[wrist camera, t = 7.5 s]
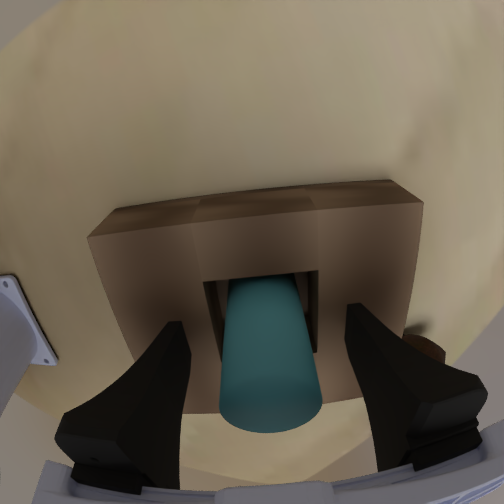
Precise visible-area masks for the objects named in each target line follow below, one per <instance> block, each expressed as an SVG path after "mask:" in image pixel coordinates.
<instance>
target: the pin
mask: <svg viewBox="0 0 504 504" xmlns="http://www.w3.org/2000/svg"><path fill="white" fill-rule="evenodd" d="M322 403H323V398H322V393H321V388H320V384H319V379H318V375H317V370H316V365H315V361H314V356H313V352H312V348H311V343H310V339H309V334H308V330H307V326H306V321H305V317H304V313H303V309H302V304H301V300H300V296H299V292H298V288H297V284H296V280H295V275H294V273H285V274H276V275H266V276H256V277H246V278H236V279H229V284H228V295H227V307H226V319H225V331H224V343H223V356H222V369H221V382H220V396H219V411H220V413H221V415H222V416H223V418H224V419H225V420H226V421H227V422H229V423H230V424H232V425H233V426H235V427H237V428H240V429H243V430H246V431H251V432H257V433H275V432H282V431H287V430H291V429H294V428H297V427H299V426H301V425H303V424H305V423H307V422H308V421H310V420H311V419H312V418H313V417H315V416H316V414H317V413H318V412H319V410H320V409H321V406H322Z"/></svg>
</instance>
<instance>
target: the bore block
mask: <svg viewBox="0 0 504 504" xmlns="http://www.w3.org/2000/svg"><path fill="white" fill-rule="evenodd" d="M423 204H424V202H423V201H421V200H420V199H418V198H417V197H416V196H414V195H413V194H411V193H410V192H408V191H407V190H405V189H404V188H402V187H401V186H400V185H398V184H397V183H395V182H394V181H392V180H375V181H356V182H340V183H326V184H313V185H301V186H289V187H278V188H268V189H258V190H248V191H239V192H230V193H222V194H214V195H206V196H198V197H190V198H183V199H176V200H169V201H162V202H155V203H148V204H142V205H135V206H129V207H123V208H117V209H115V210H114V211H113V212H112V213H111V214H110V215H108V216H107V217H106V218H105V219H104V220H103V221H102V222H101V223H100V224H99V225H98V226H97V227H96V228H95V229H94V230H93V231H92V233H91V234H90V235H89V236H88V237H87V240H88V243H89V246H90V249H91V252H92V255H93V258H94V261H95V264H96V267H97V270H98V273H99V275H100V278H101V281H102V284H103V286H104V289H105V292H106V294H107V297H108V300H109V302H110V305H111V307H112V310H113V312H114V315H115V317H116V320H117V322H118V324H119V327H120V329H121V331H122V334H123V336H124V338H125V341H126V343H127V345H128V347H129V350H130V352H131V354H132V356H133V358H134V360H135V362H136V361H137V360H138V359H139V357H140V356H141V355H142V354H143V353H144V352H145V350H146V349H147V348H148V347H149V345H150V344H151V343H152V342H153V340H154V339H155V338H156V337H157V335H158V334H159V333H160V331H161V330H162V329H163V327H164V326H165V325H166V324H167V322H168V321H182V324H183V327H184V331H185V334H186V337H187V341H188V344H189V347H190V350H191V353H192V356H191V371H190V378H189V383H188V388H187V393H186V398H185V403H184V408H183V413H182V414H209V413H220V411H219V396H220V382H221V369H222V356H223V343H224V331H225V319H226V307H227V295H228V284H229V279H236V278H246V277H256V276H266V275H276V274H285V273H294V275H295V280H296V284H297V288H298V292H299V296H300V300H301V304H302V309H303V313H304V317H305V321H306V326H307V330H308V334H309V339H310V343H311V348H312V352H313V356H314V361H315V365H316V370H317V375H318V379H319V384H320V388H321V393H322V398H323V403H322V404H325V403H331V402H338V401H344V400H349V399H355V398H360V397H363V395H362V392H361V389H360V387H359V384H358V381H357V379H356V376H355V374H354V371H353V368H352V366H351V363H350V360H349V357H348V353H347V349H346V345H345V341H344V335H345V324H346V312H347V304H353V303H362V304H363V305H364V306H365V307H366V308H367V309H368V310H369V311H370V312H371V313H372V314H373V315H374V316H375V317H377V318H378V319H379V320H380V321H381V322H382V323H383V324H384V325H385V326H387V327H388V328H389V329H390V330H391V331H392V332H394V333H395V334H396V335H397V336H399V337H400V338H401V339H402V336H403V331H404V327H405V322H406V318H407V313H408V308H409V303H410V298H411V293H412V288H413V282H414V276H415V270H416V263H417V257H418V250H419V242H420V234H421V225H422V215H423Z"/></svg>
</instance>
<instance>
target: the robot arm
mask: <svg viewBox="0 0 504 504" xmlns="http://www.w3.org/2000/svg"><path fill="white" fill-rule="evenodd" d="M344 341H345V345H346V349H347V353H348V357H349V360H350V363H351V366H352V368H353V371H354V374H355V376H356V379H357V381H358V384H359V387H360V389H361V392H362V395H363V398H364V401H365V404H366V408H367V412H368V416H369V421H370V426H371V431H372V436H373V441H374V447H375V453H376V460H377V468H378V473H374V474H370V475H365V476H361V477H356V478H351V479H346V480H341V481H335V482H329V483H328V482H324V481H304V482H295V483H286V484H275V485H261V486H240V487H239V486H238V487H229V488H224V489H222V490H219V491H191V490H180V481H179V452H180V431H181V419H182V413H183V408H184V403H185V398H186V393H187V388H188V383H189V378H190V371H191V356H192V353H191V350H190V347H189V344H188V341H187V337H186V334H185V331H184V327H183V324H182V321H168V322H167V324H166V325H165V326H164V327H163V329H162V330H161V331H160V333H159V334H158V335H157V337H156V338H155V339H154V340H153V342H152V343H151V344H150V345H149V347H148V348H147V349H146V350H145V352H144V353H143V354H142V355H141V356H140V357H139V359H138V360H137V361H136V362H135V363H134V364H133V365H132V366H131V367H130V368H129V369H128V370H127V371H126V372H125V373H124V374H123V375H122V376H121V377H120V378H119V379H117V380H116V381H115V382H114V383H113V384H111V385H110V386H109V387H107V388H106V389H105V390H104V391H102V392H101V393H99V394H98V395H96V396H95V397H93V398H92V399H90V400H89V401H87V402H85V403H84V404H82V405H80V406H78V407H76V408H74V409H72V410H70V411H68V412H66V413H64V415H63V417H62V419H61V422H60V424H59V427H58V429H57V432H56V434H55V441H56V443H57V445H58V446H59V447H60V449H62V451H63V452H64V453H65V454H66V455H67V456H69V458H71V459H72V460H73V461H74V462H75V464H74V467H73V468H71V467H69V466H67V465H64V464H60V463H56V462H53V461H50V460H46V462H45V465H44V467H43V470H42V473H41V476H40V479H39V482H38V485H37V488H36V491H35V494H34V497H33V501H32V504H469V503H471V502H473V501H475V500H477V499H478V498H480V497H482V496H484V495H486V494H488V493H490V492H492V491H493V490H495V489H497V488H499V487H500V486H501V485H502V484H503V483H504V419H503V420H501V421H499V422H497V423H494V424H492V425H491V426H488V427H486V428H484V429H483V430H482V431H480V432H479V431H478V429H477V426H478V425H479V422H478V420H477V418H476V416H477V415H478V413H479V412H480V410H481V409H482V407H483V405H484V404H485V402H486V400H487V396H488V392H487V390H486V388H485V387H484V385H483V383H482V382H481V380H480V378H479V377H478V376H477V375H475V374H471V373H468V372H465V371H462V370H458V369H456V368H453V367H451V366H448V365H446V364H444V363H441V362H439V361H437V360H435V359H433V358H431V357H429V356H427V355H426V354H424V353H422V352H420V351H419V350H417V349H416V348H414V347H413V346H411V345H410V344H408V343H407V342H405V341H404V340H403V339H401V338H400V337H399V336H397V335H396V334H395V333H394V332H392V331H391V330H390V329H389V328H388V327H387V326H385V325H384V324H383V323H382V322H381V321H380V320H379V319H378V318H377V317H375V316H374V315H373V314H372V313H371V312H370V311H369V310H368V309H367V308H366V307H365V306H364V305H363V304H362V303H353V304H347V312H346V324H345V335H344ZM57 363H58V359H57V358H56V356H55V354H54V352H53V351H52V349H51V347H50V346H49V344H48V342H47V340H46V338H45V337H44V335H43V333H42V331H41V329H40V327H39V325H38V323H37V322H36V320H35V318H34V316H33V314H32V312H31V310H30V308H29V306H28V303H27V301H26V299H25V297H24V295H23V293H22V291H21V288H20V286H19V284H18V282H17V280H16V278H15V277H14V276H12V275H6V276H0V417H1V415H2V413H3V411H4V409H5V407H6V405H7V403H8V401H9V400H10V398H11V396H12V394H13V392H14V390H15V389H16V387H17V385H18V383H19V382H20V380H21V378H22V376H23V375H24V373H25V371H26V370H27V368H28V366H29V364H40V365H50V366H56V365H57Z"/></svg>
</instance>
